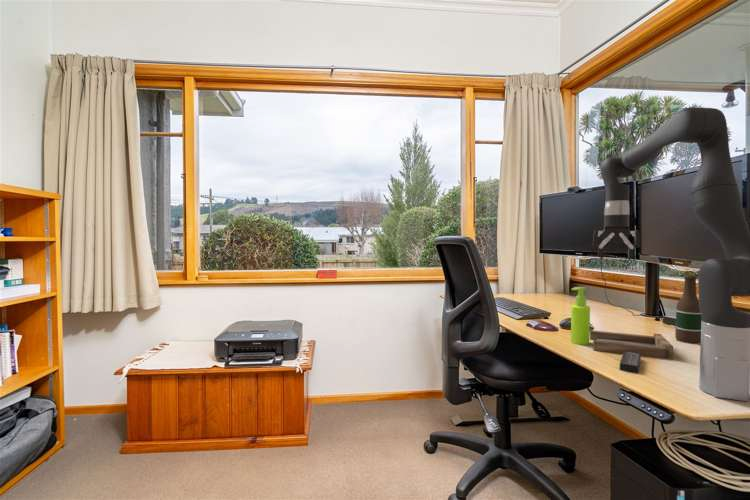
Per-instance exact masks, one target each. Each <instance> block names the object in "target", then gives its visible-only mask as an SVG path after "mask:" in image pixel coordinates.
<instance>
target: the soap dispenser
mask: <svg viewBox="0 0 750 500" xmlns="http://www.w3.org/2000/svg"><path fill="white" fill-rule="evenodd" d="M585 290H587V287H584V286H575V287H572V288H571V291H576V292H577V291H578V295H576V296H575V304H572V305H571V309H570V310H571V312H570V313H571V314H570V315H571V317H570V319H571V320H570V343H572V344H575V345H580V346H586V345H590V330H591V329H590V327H591V326H590V325H591V323H590V322H591V319H590V318H591V307H590V306H588V305H587V296H585V294H584V293H585Z"/></svg>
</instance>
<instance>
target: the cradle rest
mask: <svg viewBox="0 0 750 500" xmlns="http://www.w3.org/2000/svg"><path fill="white" fill-rule="evenodd" d="M590 340H592V345H593V346H592V350H593V351H595V352H596V351H597V352H598V351H599V352H606V353H615V354H622V355H623V353H624V351H627V352H633V353H639V354H641V356H642V357H651V358H659V359H667V360H674V346H673V345H672V344H671V343H670V341H669V340H667V339H666V338H665V336H663V335H662V333H661V334H660V333H653V335H644V334H642V335H641V334H633V333H625V332H624V333H622V332H613V331H612V332H611V331H604V330H603V331H602V330H601V331H600V330H591V329H590V334H589V341H590Z"/></svg>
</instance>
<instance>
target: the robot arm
mask: <svg viewBox="0 0 750 500" xmlns="http://www.w3.org/2000/svg"><path fill="white" fill-rule="evenodd" d="M675 143H681V144H682V143H683V144H685V143H686V144H696V145H697V146H698V148H699V153H700V158H701V159H700V160H701V161H700V166H699V167H698V170H697V172H696V174H695V176H694V177H693V180H692V181H691V185H690V189H689V191H690V192H689V193H690V198H691V203H692V207H693V208H692V209H693V210H694V214H695V215H696V217H697V218H698V219H699V221H700V222H701V223H702V224H703V225H704V226H705V227H706V228H707V230H709V231H710V232H711V233H712V234H713V235H714V236H715V237H716V238H717V239H718V241H719V242H720V244H721V245H722V249H723V251H724V254H725V257H724V258H722V257H721V258H719V257H717V258H716V257H715V258H709V259H707V260H704V261H703V263H702V264H701V265H700V268H699V270H698V277H697V282H698V283H697V284H698V285H697V287H698V289H697V290H698V300H699V308H700V311H701V315H702V323H701V343H700V354H699V377H698V378H699V381H698V384H699V385H698V388H699V390H701V391H702V392H704V393H706V394H708V395H712V396H713V397H715V398H721V399H729V400H734V401H742V402H749V399H750V313H749V312H746V311H744V310H740V309H738V308H736V307H735V306H734V305H733V299H732V297H750V229H749V226H748V223H747V220H746V215H745V213H744V209H743V208H744V207H743V202H742V197H741V194H740V190H739V186H738V183H737V180H736V177H735V171H734V167H733V162H732V158H731V152H730V143H729V132H728V123H727V119H726V117H725V114H724V113H723V111H722V110H720V109H718V108H714V107H713V108H712V107H697V106H695V107H693V106H692V107H685V108H682V109H680V110H678V111H677V112H676V113H674V114H672V116H670V117H669V118H668V119H667V120H666V121H665V122H664V123H663V124H661V125H660V126H659V127H658V128H657V129H655V131H653V132H652V133H651V134H650V135H649V136H648V137H646V138H645V139H644V140H642V141H640V142H639V143H637V144H636V145H634V146H633V147H631V148H629V149H627V150H626V151H625V152H624V153H623V154H622V157H619V156H618V157H614V156H611V157H607V158H605V159H604V160H603V161H602V163H601V164H600V165H601V166H600V173H601V174H600V175H601V178H602V181H603V184H604V189H605V203H604V204H605V205H604V211H603V215H604V217H603V218H604V219H603V222H604V224H603V230H594V232H593V240H592V246H593V247H594V248H597V249H598V250H597V251H598V252H597V257H598V258H600V260H603V259H604V246H606V244H608V242H609V243H624V244H625V245H626V246H627V247H628V249H627V260H628V261H632V259H634V253H635V252H634V251H635V249H638V248H640V247H641V232H640V231H641V230H639V229H638V230H637V229H636V230H630V186H629V185H628V184H626V183H625V184H624V183H622V182H620V181H619V179H618V178H623V179H624V178H629V177H632V176H633V175H635V173H637V172H638V171H639V170H640V169H641V168H642V167H644V166H646V165H648V164H649V163H651V162H653V161H655V160H656V159H657V158H658V157H660V155H661V153H662V151H663V149H664V148H665V147H667V146H670V145H673V144H675ZM601 235H603V237H604V239H603V240H602V241H601V243H599V244H598V237H600V236H601ZM630 235H632V237H634V244H632V243H631V242H630V240H629V239H628V237H629V236H630Z"/></svg>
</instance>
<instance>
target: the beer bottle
mask: <svg viewBox="0 0 750 500" xmlns="http://www.w3.org/2000/svg"><path fill="white" fill-rule="evenodd" d="M683 278H684V283H683V284H684V285H683V292H682V296H681V297H680V298H679V299H678V301H677V303H676V306H675V307H676V308H675V335H674V336H675V339H676V341H679V342H681V343H686V344H694V345H695V344H701V323H702V315H701V311H700V308H699V298H698V295H697V280H698V277H697V275H695V274H686V275H685V274H684V276H683Z"/></svg>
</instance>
